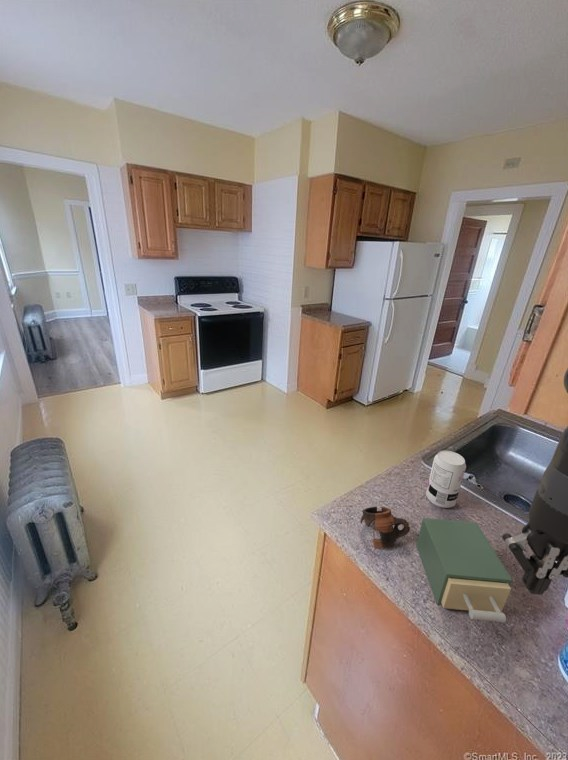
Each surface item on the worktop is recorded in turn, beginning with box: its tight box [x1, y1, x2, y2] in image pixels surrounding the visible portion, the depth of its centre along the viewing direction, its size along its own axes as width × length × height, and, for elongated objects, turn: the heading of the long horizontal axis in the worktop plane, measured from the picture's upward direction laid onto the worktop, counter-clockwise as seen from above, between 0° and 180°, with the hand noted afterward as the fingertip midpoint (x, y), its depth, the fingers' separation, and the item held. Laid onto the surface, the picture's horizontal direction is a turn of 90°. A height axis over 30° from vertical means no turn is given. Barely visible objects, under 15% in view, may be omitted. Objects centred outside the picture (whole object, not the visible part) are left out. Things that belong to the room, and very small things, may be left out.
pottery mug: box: [359, 506, 411, 549], centre depth 83 cm, size 12×10×8 cm
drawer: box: [441, 577, 512, 623], centre depth 68 cm, size 18×11×7 cm, turn 175°
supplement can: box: [425, 450, 467, 509], centre depth 93 cm, size 8×8×15 cm
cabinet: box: [415, 517, 513, 606], centre depth 72 cm, size 15×13×9 cm
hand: (532, 588), depth 49 cm, fingers closed
